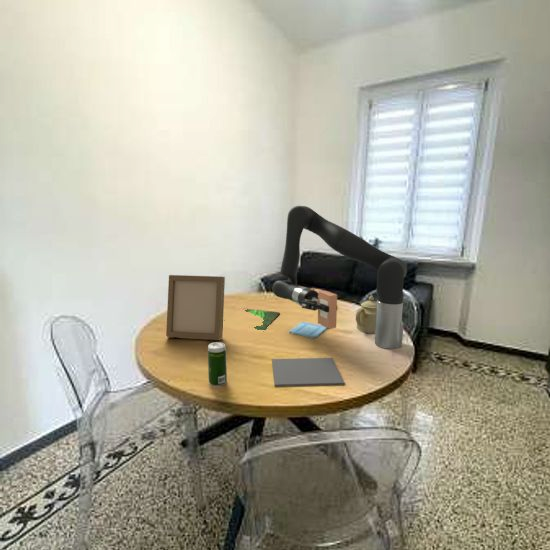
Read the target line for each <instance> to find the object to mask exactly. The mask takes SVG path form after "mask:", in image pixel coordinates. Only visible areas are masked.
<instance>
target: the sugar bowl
mask: <svg viewBox="0 0 550 550" xmlns="http://www.w3.org/2000/svg"><path fill="white" fill-rule="evenodd" d="M368 299H369V300H366V301H364V302H362V303H360V305H361V306H360V307H358V308H357V310H356V312H355V321H356V330H358V331H360V332H362V331H363V332H362V333H366V332H368V333H367V334H375V328H376V313H377V301H374V300H375V298H374V296H373V295H372V294H371V295H370V296H369V298H368Z"/></svg>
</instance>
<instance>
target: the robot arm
mask: <svg viewBox="0 0 550 550" xmlns="http://www.w3.org/2000/svg"><path fill="white" fill-rule="evenodd" d="M286 218H287V219H286V220H287V221H286V236H285V245H284V246H285V247H284V252H283V257H282V262H281V266H280V274H281V275H282V276H283V277H287V280H277V281H275V282H274V283H273V284H272V286H271V287H272V288H271V289H272V292H273V294H274V296H275V297H277V298H281V299H284V300H289V301H291V302H293V303H295V304H296V305H299V306H300V307H301V308H302V309H304V310H305V309H306V310H310V311H318V310H322V311H325V312H329V306H327V305H324V304H321V303H320V302H319V301H318V293H317V292H316V291H314V290H312V289H313V288H308V287H306V286H302V285H299V284H298V281H297V279H298V278H297V275H298V274H297V273H298V269H299V264H300V259H301V257H300V256H301V253H300V252H301V250H300V249H301V248H300V242H301V238H302V234H303V231H304V230H306V231H308V232H311V233H312V234H315V235H316V236H318V237H319V238H321V239H322V240H323V242H324V243H326V245H327V246H328V247H330V248H331V249H332V250H334V251H335V252H337V253H338V254H340V255H342V256H343V257H346V258H347V259H350V260H353V261H356V262H360V263H362V264H365V265H367V266H369V267H371V268H372V269H374V270H376V271H377V273H376V274H377V275H376V295H377V298H376V299H377V300H376V302H377V313H376V328H375V333H374V344H375V345H376V346H377V347H380V348H384V349H388V350H389V349H398V348H402V347H403V334H404V322H403V320H402V318H403V305H404V280H405V279H404V278H405V277H406V275H407V273H408V267H407V265H406V263H405V262H404V261H403V260H402V259H400V258H398V257H396V256H394V255H391V254H389V253H387V252H385V251H383V250H380V249H378V248H377V247H376V246H374V245H372V244H371V243H369V242H368V241H366V240H365V239H363V238H361V237H360V236H358V235H357V234H355V233H353V232H351V231H349V230H348V229H347V228H344V227H342V226H340V225H338V224H336V223H334V222H331V221H330V220H328V219H326V218H324V216H322V215H320V214H319V213H317V212H316V211H315V210H313V209H312V208H311V207H309V206H305V205H295V206H293V207H291V209H290V210H289V211H288V214H287V217H286Z"/></svg>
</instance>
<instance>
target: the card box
mask: <svg viewBox="0 0 550 550" xmlns="http://www.w3.org/2000/svg"><path fill="white" fill-rule="evenodd" d="M318 301H319V302H320V303H321V304H324V305H327V306H329V312H325V311H322V310H318V309H317V324H318V325H322V326H324V327H326V328H327V329H329V330H331V329H337V316H338V315H337V314H338V313H337V311H338V294H336V293H333V292H331V291H327V290H323V291H319V292H318Z"/></svg>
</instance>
